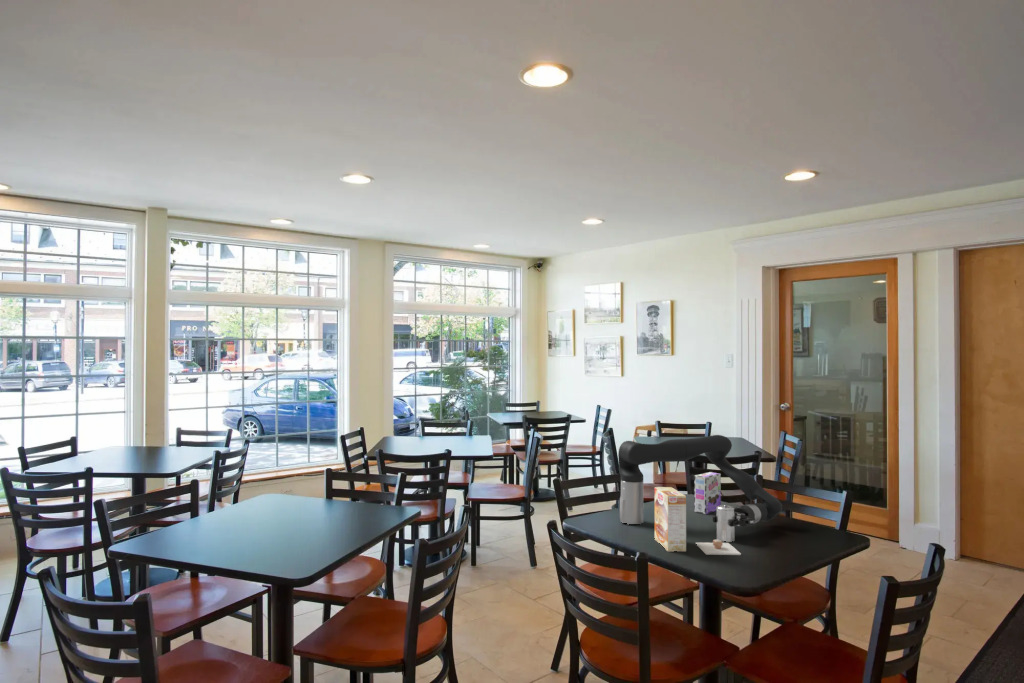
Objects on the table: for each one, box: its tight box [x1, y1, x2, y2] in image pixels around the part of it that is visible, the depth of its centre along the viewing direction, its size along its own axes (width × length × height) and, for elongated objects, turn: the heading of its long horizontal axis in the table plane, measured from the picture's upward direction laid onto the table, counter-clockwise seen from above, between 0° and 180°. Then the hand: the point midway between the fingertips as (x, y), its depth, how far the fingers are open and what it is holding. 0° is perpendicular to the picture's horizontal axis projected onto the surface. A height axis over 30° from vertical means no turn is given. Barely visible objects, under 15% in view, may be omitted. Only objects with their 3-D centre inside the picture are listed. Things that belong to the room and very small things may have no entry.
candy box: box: [693, 471, 722, 515], centre depth 264 cm, size 14×6×16 cm, turn 132°
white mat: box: [695, 541, 742, 556], centre depth 209 cm, size 12×12×1 cm
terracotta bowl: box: [712, 538, 723, 549], centre depth 209 cm, size 3×3×3 cm
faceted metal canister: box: [716, 504, 736, 543], centre depth 221 cm, size 6×6×13 cm
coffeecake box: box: [653, 486, 687, 553], centre depth 213 cm, size 15×7×20 cm, turn 4°
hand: (722, 521), depth 219 cm, fingers closed on faceted metal canister, 6 cm apart
